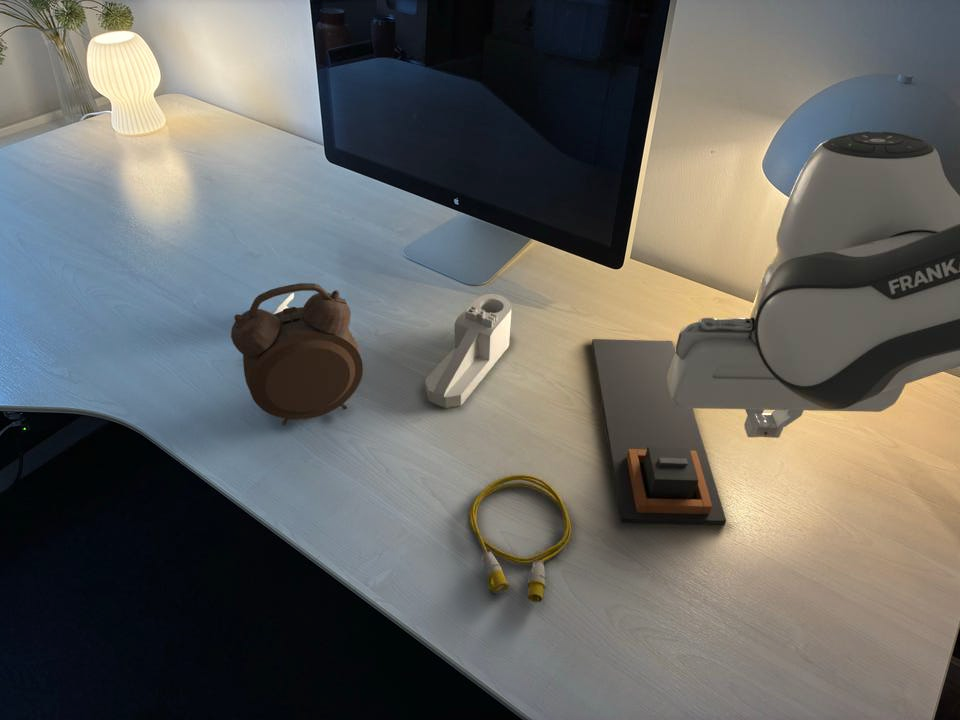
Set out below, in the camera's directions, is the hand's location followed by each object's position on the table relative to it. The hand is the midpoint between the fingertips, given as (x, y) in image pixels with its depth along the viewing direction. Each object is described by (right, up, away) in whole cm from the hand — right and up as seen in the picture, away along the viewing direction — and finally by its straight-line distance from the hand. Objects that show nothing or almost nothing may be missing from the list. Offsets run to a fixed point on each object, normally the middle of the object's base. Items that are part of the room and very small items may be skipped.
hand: (760, 432), depth 67 cm
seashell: (-58, +12, +37) cm, 70 cm away
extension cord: (-24, -13, +11) cm, 29 cm away
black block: (-5, -8, +15) cm, 18 cm away
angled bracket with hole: (-29, +6, +32) cm, 43 cm away
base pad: (-5, -1, +24) cm, 24 cm away
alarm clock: (-50, +1, +25) cm, 56 cm away
